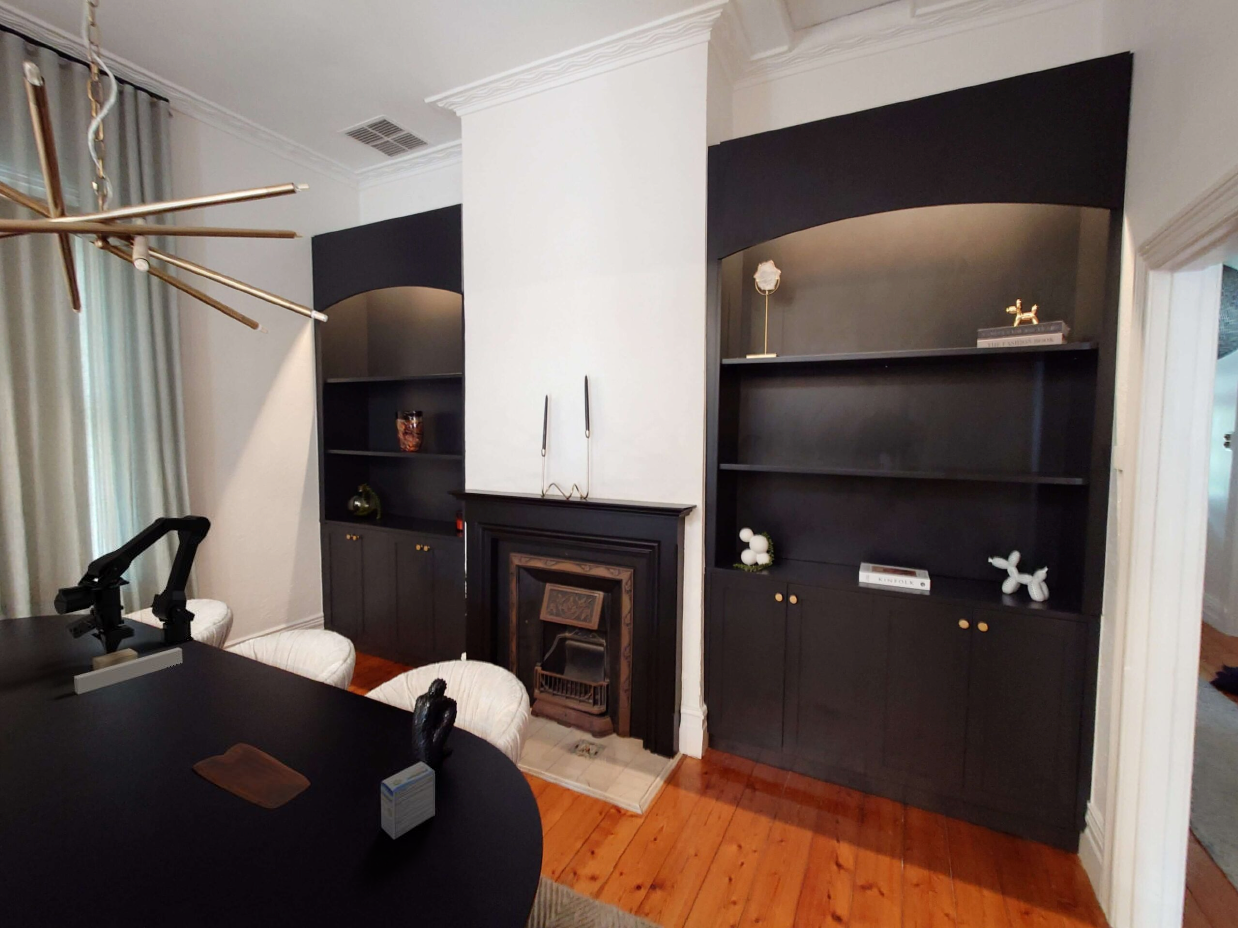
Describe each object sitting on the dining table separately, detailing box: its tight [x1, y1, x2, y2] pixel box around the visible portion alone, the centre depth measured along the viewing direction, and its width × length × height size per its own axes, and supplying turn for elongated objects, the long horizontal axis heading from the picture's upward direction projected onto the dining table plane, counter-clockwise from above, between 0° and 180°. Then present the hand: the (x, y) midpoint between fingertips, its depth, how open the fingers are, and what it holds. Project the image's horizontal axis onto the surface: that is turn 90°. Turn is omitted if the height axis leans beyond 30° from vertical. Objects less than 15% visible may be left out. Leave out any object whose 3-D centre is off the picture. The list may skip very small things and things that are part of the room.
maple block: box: [92, 647, 139, 671], centre depth 156 cm, size 8×6×4 cm
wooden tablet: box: [192, 742, 311, 810], centre depth 110 cm, size 27×10×2 cm, turn 62°
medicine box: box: [380, 761, 436, 840], centre depth 98 cm, size 8×4×9 cm, turn 141°
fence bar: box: [73, 647, 183, 695], centre depth 150 cm, size 22×2×4 cm, turn 148°
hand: (110, 657), depth 158 cm, fingers closed
